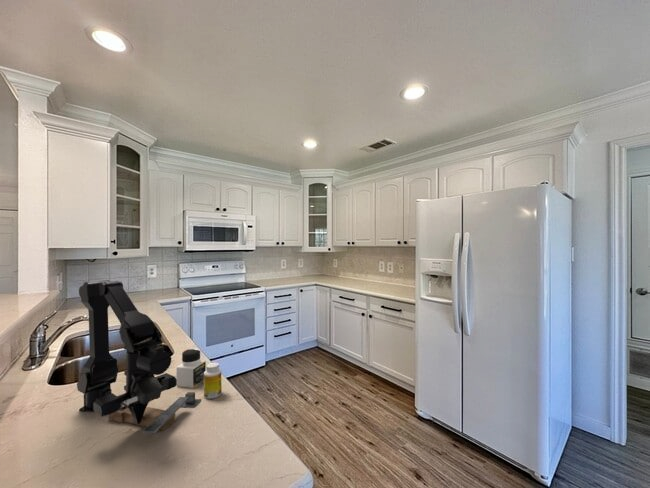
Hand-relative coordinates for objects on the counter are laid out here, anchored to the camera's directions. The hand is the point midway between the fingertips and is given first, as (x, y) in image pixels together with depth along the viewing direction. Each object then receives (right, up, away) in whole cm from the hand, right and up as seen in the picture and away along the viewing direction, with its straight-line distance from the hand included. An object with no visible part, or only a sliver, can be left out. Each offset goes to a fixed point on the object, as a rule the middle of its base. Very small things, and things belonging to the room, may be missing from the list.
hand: (138, 423), depth 77 cm
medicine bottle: (+2, -2, +26) cm, 26 cm away
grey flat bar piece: (+8, -1, +4) cm, 9 cm away
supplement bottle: (+14, -2, +17) cm, 22 cm away
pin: (-8, -2, +6) cm, 10 cm away
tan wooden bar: (-1, -1, +4) cm, 4 cm away
